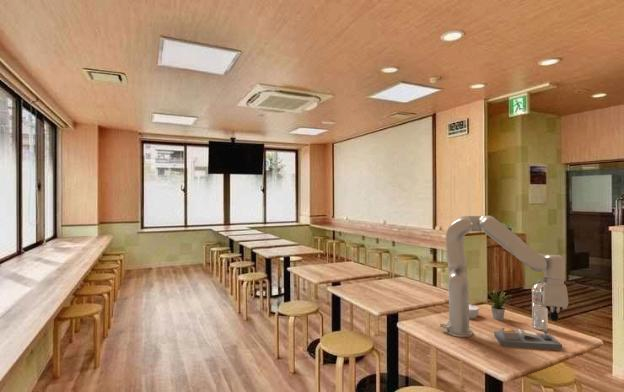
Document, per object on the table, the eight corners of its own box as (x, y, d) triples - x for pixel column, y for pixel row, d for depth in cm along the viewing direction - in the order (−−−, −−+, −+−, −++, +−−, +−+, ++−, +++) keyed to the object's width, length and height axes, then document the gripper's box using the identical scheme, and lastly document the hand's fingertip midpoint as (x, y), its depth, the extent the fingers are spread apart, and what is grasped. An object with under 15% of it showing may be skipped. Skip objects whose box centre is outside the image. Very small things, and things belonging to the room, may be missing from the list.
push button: (505, 337, 167) (505, 331, 167) (502, 334, 171) (502, 327, 171) (515, 338, 166) (515, 332, 166) (512, 334, 170) (512, 328, 170)
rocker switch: (520, 334, 166) (521, 331, 166) (517, 331, 170) (518, 328, 169) (537, 337, 164) (537, 335, 164) (533, 334, 168) (534, 331, 168)
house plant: (507, 325, 188) (506, 295, 188) (480, 319, 198) (479, 290, 198) (516, 318, 198) (515, 290, 198) (490, 313, 208) (489, 285, 208)
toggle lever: (544, 337, 164) (542, 321, 165) (543, 335, 166) (540, 319, 166) (549, 336, 164) (546, 320, 164) (547, 335, 166) (545, 319, 166)
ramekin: (483, 317, 202) (483, 308, 202) (468, 320, 198) (468, 311, 198) (468, 311, 212) (468, 302, 212) (453, 314, 208) (453, 305, 208)
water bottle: (550, 331, 180) (549, 282, 179) (535, 330, 181) (534, 282, 181) (544, 326, 186) (543, 279, 186) (530, 325, 188) (529, 279, 188)
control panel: (501, 346, 164) (501, 334, 164) (494, 336, 175) (494, 325, 175) (562, 350, 158) (561, 338, 158) (550, 339, 170) (549, 327, 170)
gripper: (539, 282, 162) (539, 321, 162) (576, 284, 159) (575, 324, 159) (533, 278, 169) (532, 316, 170) (568, 280, 166) (567, 318, 167)
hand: (553, 320), depth 164 cm, fingers closed
